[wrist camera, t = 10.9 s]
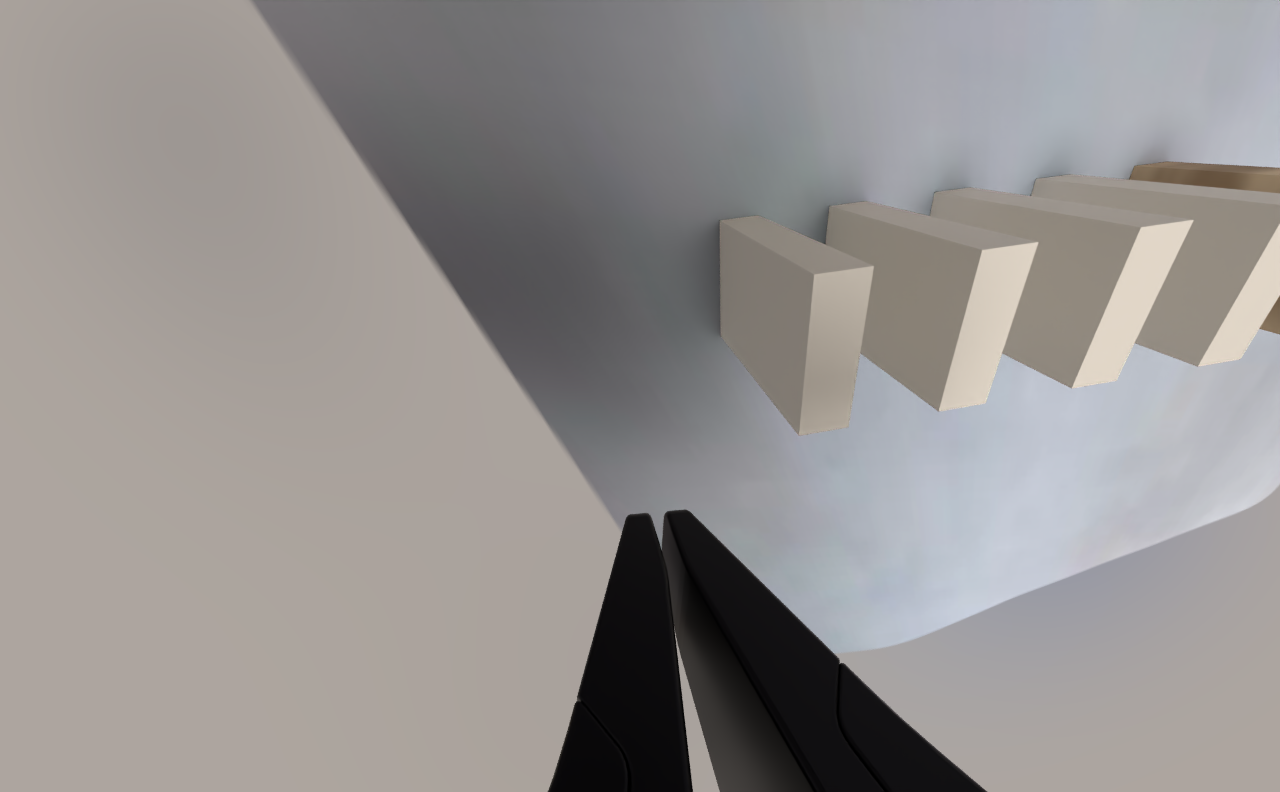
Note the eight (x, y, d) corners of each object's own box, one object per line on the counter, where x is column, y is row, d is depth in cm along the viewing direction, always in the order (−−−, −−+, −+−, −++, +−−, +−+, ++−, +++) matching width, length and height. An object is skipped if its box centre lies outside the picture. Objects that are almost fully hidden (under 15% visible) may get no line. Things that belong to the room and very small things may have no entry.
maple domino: (1134, 165, 20) (1431, 185, 13) (1167, 161, 20) (1478, 178, 13) (1089, 279, 23) (1318, 345, 16) (1118, 275, 23) (1359, 338, 16)
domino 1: (719, 220, 19) (814, 274, 12) (758, 215, 19) (874, 266, 12) (720, 335, 21) (799, 435, 14) (754, 330, 21) (848, 427, 14)
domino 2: (829, 206, 19) (982, 249, 12) (866, 201, 19) (1038, 242, 12) (817, 321, 22) (938, 411, 15) (850, 316, 22) (985, 403, 15)
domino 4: (1036, 178, 20) (1289, 206, 13) (1070, 174, 20) (1339, 198, 13) (1001, 293, 22) (1197, 366, 15) (1031, 288, 22) (1240, 359, 16)
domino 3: (934, 192, 19) (1141, 227, 13) (970, 187, 20) (1194, 220, 13) (910, 307, 22) (1071, 388, 15) (942, 302, 22) (1116, 380, 15)
